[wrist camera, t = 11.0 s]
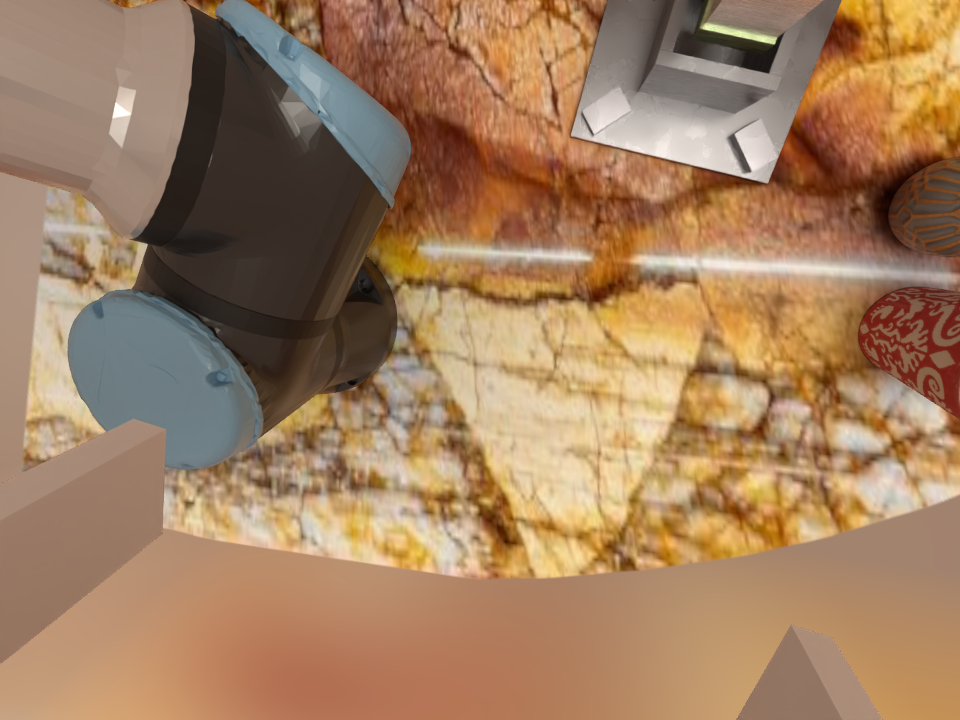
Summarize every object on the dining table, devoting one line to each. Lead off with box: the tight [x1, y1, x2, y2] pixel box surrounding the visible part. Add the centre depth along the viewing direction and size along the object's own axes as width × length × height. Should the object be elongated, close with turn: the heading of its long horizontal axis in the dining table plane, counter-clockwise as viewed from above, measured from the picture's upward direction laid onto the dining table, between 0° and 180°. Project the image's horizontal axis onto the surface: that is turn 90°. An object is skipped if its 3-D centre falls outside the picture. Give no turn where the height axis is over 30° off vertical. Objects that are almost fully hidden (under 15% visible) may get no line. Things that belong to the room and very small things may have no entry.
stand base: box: [571, 0, 841, 184], centre depth 34 cm, size 16×16×10 cm
